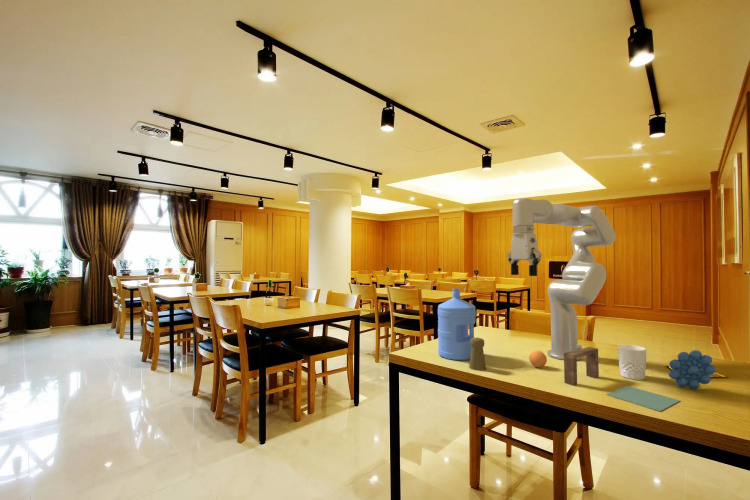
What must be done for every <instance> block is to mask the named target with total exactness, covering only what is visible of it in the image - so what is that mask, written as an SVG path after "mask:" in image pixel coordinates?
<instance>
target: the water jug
mask: <svg viewBox="0 0 750 500" xmlns="http://www.w3.org/2000/svg"><path fill="white" fill-rule="evenodd" d="M476 314H477V313H476V306H475V305H474V304H471V303H470V302H469V301H466V300H464V299H462V298H461V288H452V298H450V299H448V300H447V301H444V302H442V303H440V304H438V306H437V318H438V320H437V323H438V324H437V337H438V341H437V342H438V344H437V345H438V347H437V352H438V356H440V357H442V358H445V359H447V360H452V361H454V360H455V361H468V360H469V361H470V356H471V348H472V347H471V345H470V340H471V339H472V338H475V323H476V317H477V315H476Z"/></svg>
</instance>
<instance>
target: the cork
mask: <svg viewBox="0 0 750 500" xmlns="http://www.w3.org/2000/svg"><path fill="white" fill-rule="evenodd" d="M470 345H471V347H472V348H471V356H470V359H469V364H468V365H469V367H468V368H469V369H471V370H473V371H485V370H486V369H487V367H486V366H487V365H486V360H485V353H484V352H485V351H484V346H485V340H484V339H483V338H482V337H481V338H480V337H474V338H472V339H471V340H470Z"/></svg>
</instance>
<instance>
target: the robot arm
mask: <svg viewBox="0 0 750 500" xmlns="http://www.w3.org/2000/svg"><path fill="white" fill-rule="evenodd" d="M535 224H544V225H545V224H546V225H558V226H564V227H565V226H566V227H569V228H577V229H575V230H573V231H572V233H571V236H570V241H571V247H572V252H573V253H572V256H571V257H570V259H569V261H568V262H567V264H566V266H565V267H564V269H563V270H562V273H561V278H562V279H555V280H553V281H551V282H550V283H549V284H548V286H547V296H548V299H549V306H550V335H551V337H550V338H551V339H550V340H551V343H550V344H551V349H548V351H547V352H546V353H547V355H548V356H549V357H550V358H554V359H558V360H563V361H564V353H565V352H569V351H573V350H578V349H582V348H583V346H582V345H581V344H578V315H577V314H578V313H577V311H576V309H575V307H574V306H573V305H578V306H580V305H581V306H589V305H591V304H592V303H594V301H595V300H596V298H597V296H598V295H599V294H600V291H601V290H602V288H603V286H604V284H605V282H606V279H607V270H606V268H605V266H604V265H603V264H602V263H600V262H596V261H595V260H596V259H595V256H594V254H593V252H592V251H591V250H590V249H589V247H591V248H593V247H594V248H595V247H608V246H611V245H612V244H614V242H615V241H616V233H615V230H614V227H613V226H612V224H611V223H610V220H609V219H608V217H607V215H606V214H605V212H604V211H603V210H602V209H601V208H600V207H599V206H597V205H586V206H579V207H578V206H577V207H575V206H572V205H566V204H562V203H561V204H560V203H555V204H552V202H550V201H549V200H547V199H532V198H517V199H515V200H513V202H512V235H511V240H510V242H511V243H510V251H509V252H508V253H507V254H506V256H507V261H508V262H509V265H510V275H511V276H518V275H520V274H519V267H520V266H519V262H520V261H528V263H529V265H528V275H529V277H537V276H538V265H539V263H540V261H541V258H542V256H543V253H542V252H541V251H540V250H539V246H538V239H537V235H536V233H535ZM582 359H583V356H582V357H578V358H577V361H580V360H582Z"/></svg>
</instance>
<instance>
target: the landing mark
mask: <svg viewBox="0 0 750 500" xmlns="http://www.w3.org/2000/svg"><path fill="white" fill-rule="evenodd" d="M606 396H609V397H612V398H616V399H618V400H622V401H623V402H624V401H625V402H627V403H631V404H633V405H634V404H635V405H637V406H641V407H644V408H648V409H651V410H653V411H657V412H660V411H661V412H663V411H665V410H666V409H668V408H670V407H672V406H674V405H676V404H677V403H680V402H681V400H680V399H677V398H673V397H670V396H666V395H662V394H658V393H655V392H652V391H647V390H644V389H640V388H637V387H634V386H631V385H626V386H622V387H621V388H618V389H616V390H613V391H611V392H609V393H606Z"/></svg>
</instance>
